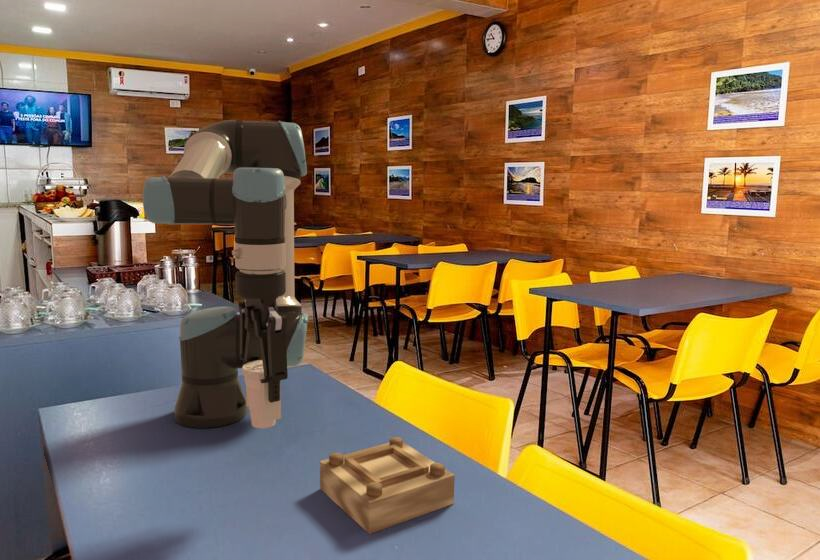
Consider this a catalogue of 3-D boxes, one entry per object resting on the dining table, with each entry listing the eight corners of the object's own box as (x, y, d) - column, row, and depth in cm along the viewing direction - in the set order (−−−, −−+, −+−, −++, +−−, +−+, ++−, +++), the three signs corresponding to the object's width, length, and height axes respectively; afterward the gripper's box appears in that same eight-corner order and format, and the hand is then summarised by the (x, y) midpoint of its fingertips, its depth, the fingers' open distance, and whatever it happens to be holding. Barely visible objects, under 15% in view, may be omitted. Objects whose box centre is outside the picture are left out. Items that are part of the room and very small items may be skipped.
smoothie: (292, 421, 101) (291, 338, 98) (264, 435, 96) (262, 347, 93) (262, 412, 104) (261, 331, 102) (234, 425, 99) (231, 340, 96)
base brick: (320, 488, 105) (320, 454, 104) (398, 465, 114) (399, 433, 113) (369, 534, 92) (370, 495, 91) (453, 503, 101) (454, 467, 100)
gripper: (215, 262, 101) (220, 397, 105) (261, 282, 86) (264, 439, 90) (260, 259, 105) (262, 389, 109) (310, 277, 90) (311, 428, 94)
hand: (263, 411), depth 100 cm, fingers closed on smoothie, 6 cm apart
